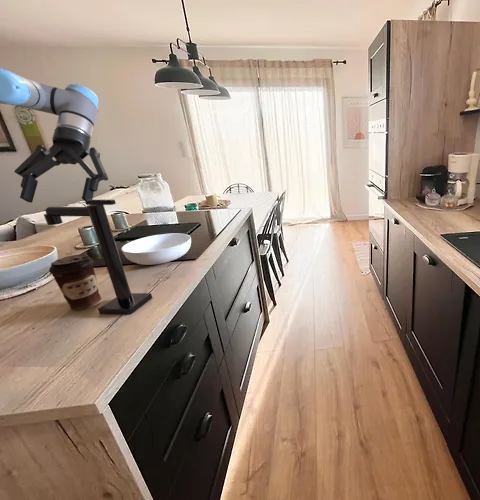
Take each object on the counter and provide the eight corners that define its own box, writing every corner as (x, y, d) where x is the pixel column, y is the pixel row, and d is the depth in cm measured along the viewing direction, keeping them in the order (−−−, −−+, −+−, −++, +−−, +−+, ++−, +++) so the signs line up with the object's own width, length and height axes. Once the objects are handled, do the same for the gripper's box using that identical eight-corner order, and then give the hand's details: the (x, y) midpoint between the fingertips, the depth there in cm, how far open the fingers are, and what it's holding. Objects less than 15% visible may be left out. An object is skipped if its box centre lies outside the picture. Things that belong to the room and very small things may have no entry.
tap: (66, 313, 71) (21, 203, 61) (94, 297, 79) (57, 196, 69) (132, 314, 71) (97, 203, 61) (154, 298, 78) (126, 196, 68)
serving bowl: (153, 249, 114) (149, 232, 112) (205, 249, 113) (201, 233, 111) (110, 271, 95) (104, 251, 92) (172, 272, 94) (167, 252, 91)
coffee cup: (113, 301, 77) (98, 256, 72) (73, 317, 70) (53, 268, 65) (99, 293, 81) (83, 250, 76) (60, 307, 74) (40, 261, 69)
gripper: (129, 145, 89) (118, 207, 83) (32, 140, 84) (12, 206, 77) (115, 128, 82) (102, 194, 76) (8, 121, 77) (-16, 192, 70)
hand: (56, 200), depth 76 cm, fingers open, 13 cm apart
